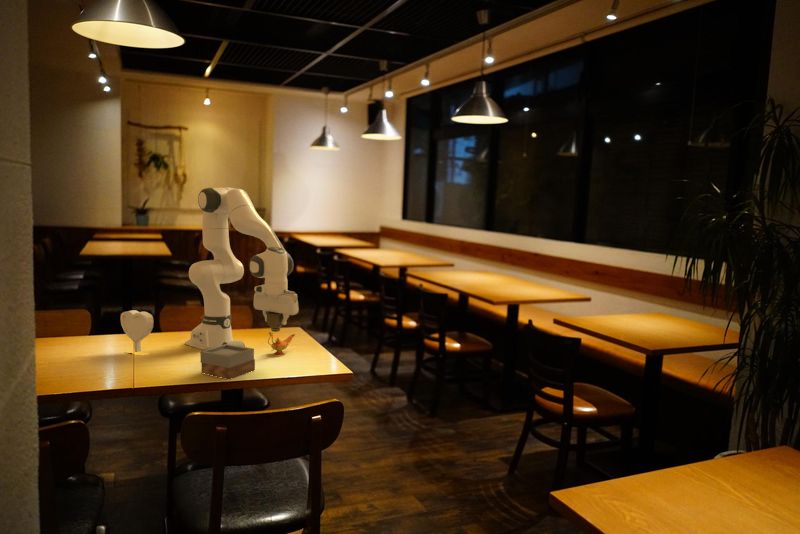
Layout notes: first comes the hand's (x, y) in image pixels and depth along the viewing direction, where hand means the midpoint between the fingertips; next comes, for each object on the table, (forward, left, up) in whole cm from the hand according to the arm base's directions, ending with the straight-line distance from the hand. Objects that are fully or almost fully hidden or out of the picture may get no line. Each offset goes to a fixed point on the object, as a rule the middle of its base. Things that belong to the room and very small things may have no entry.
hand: (275, 323), depth 237 cm
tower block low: (-11, -15, -18) cm, 26 cm away
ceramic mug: (-24, 0, -18) cm, 30 cm away
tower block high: (-11, -15, -13) cm, 23 cm away
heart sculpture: (-62, -16, -18) cm, 66 cm away
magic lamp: (-12, +18, -18) cm, 28 cm away
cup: (0, 0, -3) cm, 3 cm away
